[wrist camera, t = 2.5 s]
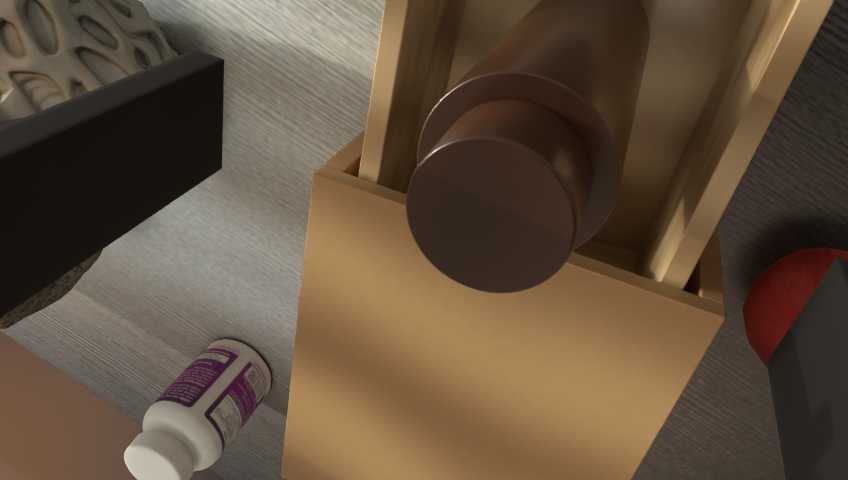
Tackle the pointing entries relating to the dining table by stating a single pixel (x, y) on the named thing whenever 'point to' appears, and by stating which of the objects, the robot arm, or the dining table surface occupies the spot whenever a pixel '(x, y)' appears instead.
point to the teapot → (69, 73)
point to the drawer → (653, 121)
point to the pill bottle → (199, 413)
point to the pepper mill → (530, 145)
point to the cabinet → (476, 355)
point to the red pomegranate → (783, 295)
